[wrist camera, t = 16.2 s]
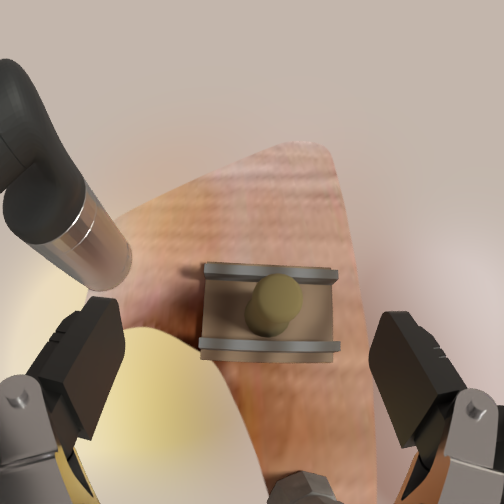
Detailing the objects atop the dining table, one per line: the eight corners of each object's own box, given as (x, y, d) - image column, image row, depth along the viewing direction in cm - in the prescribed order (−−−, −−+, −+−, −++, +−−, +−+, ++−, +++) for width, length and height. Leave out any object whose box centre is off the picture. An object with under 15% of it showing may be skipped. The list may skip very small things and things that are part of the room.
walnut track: (201, 359, 40) (197, 358, 36) (207, 264, 44) (205, 253, 40) (330, 362, 40) (340, 361, 37) (329, 270, 45) (337, 260, 41)
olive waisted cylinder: (237, 300, 42) (240, 275, 31) (281, 285, 43) (297, 257, 32) (253, 344, 40) (261, 334, 29) (297, 328, 41) (319, 313, 30)
